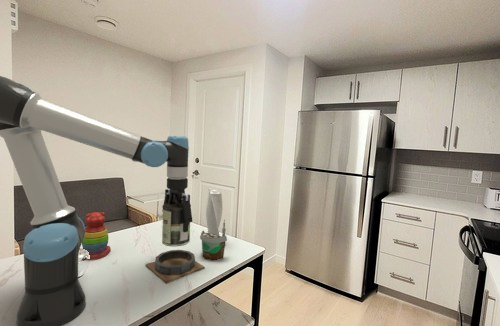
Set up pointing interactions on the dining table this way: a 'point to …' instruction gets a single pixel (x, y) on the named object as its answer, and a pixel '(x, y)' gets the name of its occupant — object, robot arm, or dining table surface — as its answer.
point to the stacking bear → (96, 236)
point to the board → (171, 263)
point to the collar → (176, 268)
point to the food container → (212, 246)
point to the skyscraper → (214, 212)
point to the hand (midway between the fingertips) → (176, 235)
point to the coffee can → (172, 226)
